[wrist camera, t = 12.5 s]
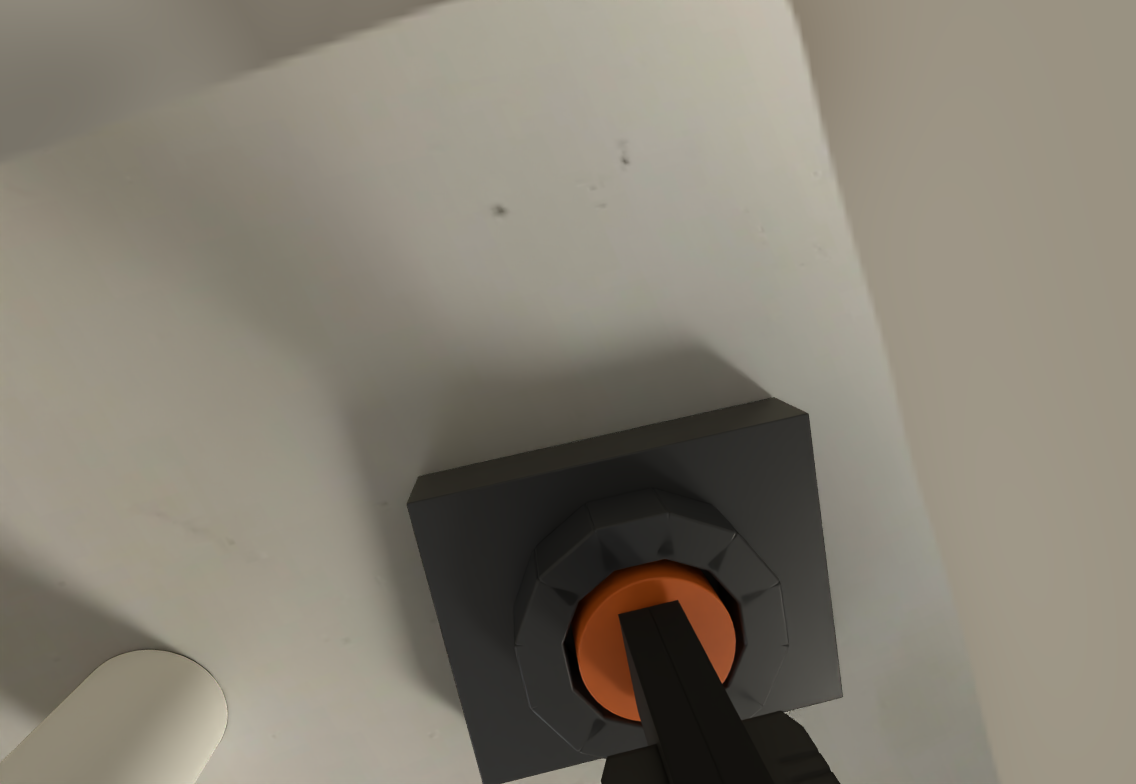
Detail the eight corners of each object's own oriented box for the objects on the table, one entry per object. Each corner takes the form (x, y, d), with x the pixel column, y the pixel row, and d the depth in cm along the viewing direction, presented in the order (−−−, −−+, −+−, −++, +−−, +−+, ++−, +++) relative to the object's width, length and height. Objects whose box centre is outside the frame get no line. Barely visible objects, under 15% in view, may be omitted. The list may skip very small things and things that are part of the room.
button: (701, 530, 17) (724, 560, 15) (723, 659, 18) (746, 701, 16) (557, 565, 17) (563, 598, 15) (586, 693, 17) (594, 739, 16)
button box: (774, 396, 19) (844, 429, 15) (808, 653, 21) (879, 742, 17) (417, 476, 18) (393, 532, 14) (486, 733, 20) (481, 844, 16)
